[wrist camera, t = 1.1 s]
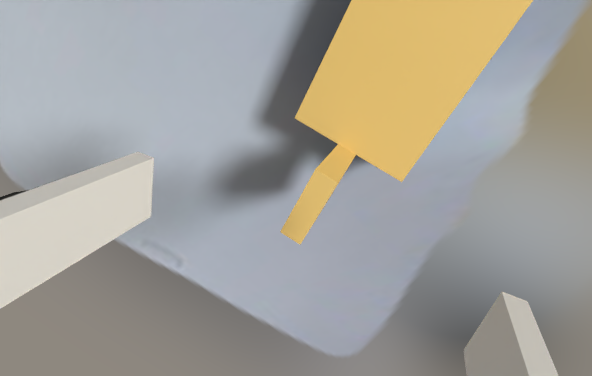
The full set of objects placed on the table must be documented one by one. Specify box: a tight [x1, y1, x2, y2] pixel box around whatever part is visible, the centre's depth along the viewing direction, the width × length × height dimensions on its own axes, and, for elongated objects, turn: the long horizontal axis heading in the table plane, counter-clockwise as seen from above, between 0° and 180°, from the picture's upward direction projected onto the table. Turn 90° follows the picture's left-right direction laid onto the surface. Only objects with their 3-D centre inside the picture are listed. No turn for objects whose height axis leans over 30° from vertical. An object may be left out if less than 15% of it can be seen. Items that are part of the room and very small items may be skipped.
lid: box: [281, 0, 533, 244], centre depth 24 cm, size 11×23×8 cm, turn 153°
